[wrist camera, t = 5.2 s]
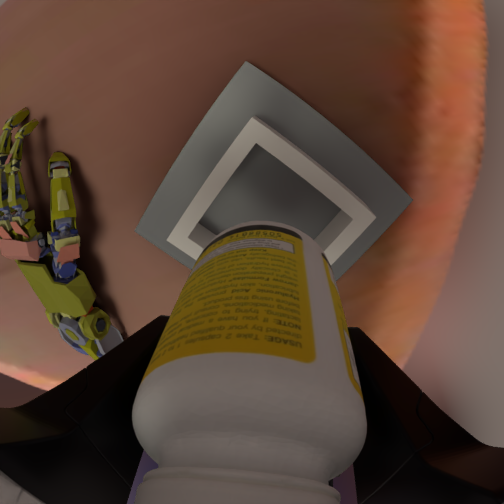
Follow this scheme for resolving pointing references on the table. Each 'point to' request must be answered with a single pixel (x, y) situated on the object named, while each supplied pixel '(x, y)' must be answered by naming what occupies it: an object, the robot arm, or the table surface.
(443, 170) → the table surface
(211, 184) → the socket holder
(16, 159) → the robotic hand
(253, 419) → the supplement bottle
